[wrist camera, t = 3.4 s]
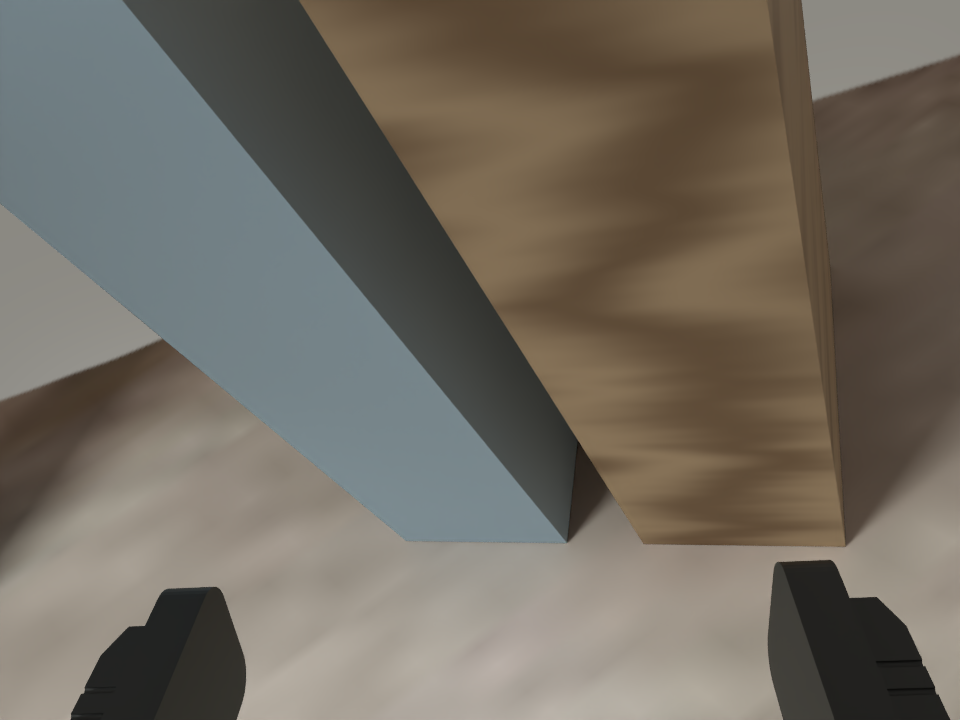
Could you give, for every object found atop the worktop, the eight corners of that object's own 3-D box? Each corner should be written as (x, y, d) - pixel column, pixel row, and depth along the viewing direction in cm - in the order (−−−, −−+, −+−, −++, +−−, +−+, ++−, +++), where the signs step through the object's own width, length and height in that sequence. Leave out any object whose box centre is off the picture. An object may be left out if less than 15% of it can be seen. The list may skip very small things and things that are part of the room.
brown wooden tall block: (643, 544, 34) (-94, -618, 9) (659, 282, 40) (246, -851, 15) (845, 546, 31) (604, -1125, 6) (829, 265, 37) (675, -1161, 12)
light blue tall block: (406, 540, 38) (-280, -30, 16) (453, 303, 43) (1, -349, 22) (566, 542, 35) (5, -142, 13) (593, 289, 41) (237, -473, 19)
